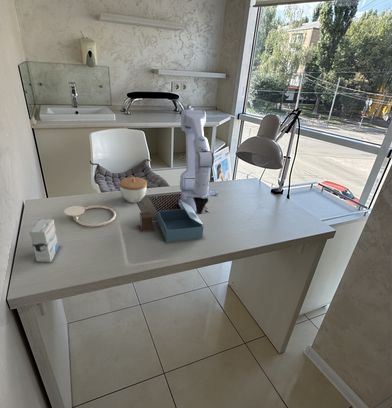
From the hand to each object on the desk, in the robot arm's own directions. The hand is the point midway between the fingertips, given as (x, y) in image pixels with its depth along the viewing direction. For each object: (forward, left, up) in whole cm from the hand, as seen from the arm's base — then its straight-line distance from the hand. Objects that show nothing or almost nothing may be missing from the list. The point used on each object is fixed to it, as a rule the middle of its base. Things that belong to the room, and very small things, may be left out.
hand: (198, 212), depth 121 cm
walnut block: (-4, -21, -7) cm, 23 cm away
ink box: (+6, -57, -8) cm, 58 cm away
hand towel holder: (-17, -42, -8) cm, 46 cm away
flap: (0, -4, +1) cm, 4 cm away
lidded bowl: (-31, -22, -8) cm, 39 cm away
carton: (0, -8, -7) cm, 11 cm away
